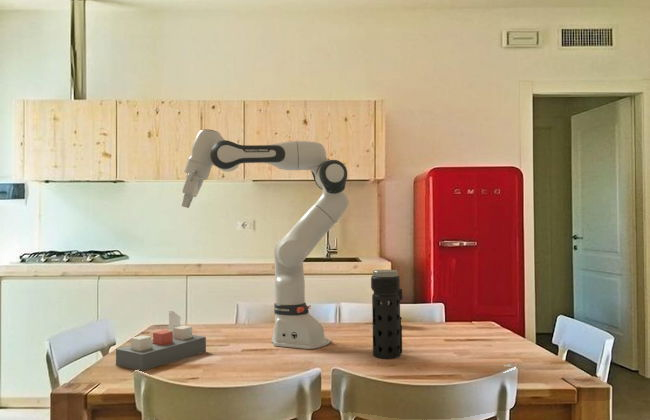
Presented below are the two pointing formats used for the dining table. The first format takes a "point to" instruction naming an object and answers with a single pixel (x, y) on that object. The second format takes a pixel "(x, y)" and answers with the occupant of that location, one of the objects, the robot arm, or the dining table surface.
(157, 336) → the red button
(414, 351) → the dining table surface
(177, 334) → the white button right
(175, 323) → the white angled block
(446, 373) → the dining table surface
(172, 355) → the button console
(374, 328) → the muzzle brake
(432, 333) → the dining table surface
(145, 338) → the white button left
